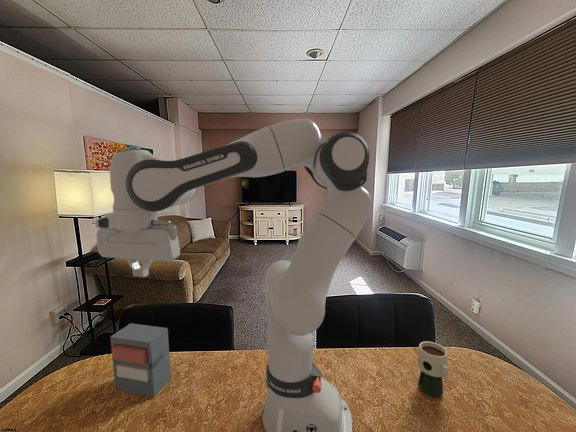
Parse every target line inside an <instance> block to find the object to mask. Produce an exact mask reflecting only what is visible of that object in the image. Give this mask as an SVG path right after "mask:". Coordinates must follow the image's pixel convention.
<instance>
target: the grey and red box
mask: <svg viewBox="0 0 576 432" xmlns="http://www.w3.org/2000/svg"><path fill="white" fill-rule="evenodd" d="M116 344H121V345H127V346H134V347H141V348H147V351H148V361H147V362H145V363H144V364H139V363H133V362H127V361H121V360H115V359H113V358H112V365H113V366H112V367H113V377H114V378H113V379H114V388H115V389H114V390H116V391H121V392H125V393H131V394H135V395H141V396H146V397H152V398H156V396H157V395H158V394H159V393H160V391H161V390H162V389H163V388H164V387H165V386H166V385H167V383H168V382H169V381H170V380H171V378H172V377H171V376H172V375H171V374H172V373H171V363H170V361H171V360H170V344H169V329H168V327H161V326H155V325H154V326H153V325H145V324H139V323H138V324H137V323H129V324H128V325H126V326H125V327H122V328H121V329H119V330H118V331H117V332H115V333H114V334H112V335H110V346H111V350H112V347H113V346H115V345H116ZM117 364H125V365H131V366H137V367H143V368H149V377H150V380H149V381H148V382H145V381H140V380H134V379H129V378H123V377H118V376H117V370H116V365H117Z"/></svg>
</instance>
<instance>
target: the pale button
mask: <svg viewBox="0 0 576 432" xmlns="http://www.w3.org/2000/svg"><path fill="white" fill-rule="evenodd" d="M116 370H117V376H118V377H123V378H129V379H134V380H140V381H145V382H148V381H149V380H150V377H149V368H143V367H137V366H131V365H125V364H117V365H116Z"/></svg>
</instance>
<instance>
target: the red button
mask: <svg viewBox="0 0 576 432" xmlns="http://www.w3.org/2000/svg"><path fill="white" fill-rule="evenodd" d="M111 357H112V358H113V359H115V360H121V361H127V362H133V363H139V364H144V363H145V362H147V361H148V351H147V348H141V347H134V346H127V345H121V344H116V345H115V346H113V347H112V349H111ZM113 359H112V360H113Z"/></svg>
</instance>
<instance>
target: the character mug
mask: <svg viewBox="0 0 576 432" xmlns="http://www.w3.org/2000/svg"><path fill="white" fill-rule="evenodd" d="M417 351H418V352H417V353H418V357H417V365H418V366H417V367H418V368H419V371H420V373H419V378H418V382H417V387H418V389H420V387H421V392H422V393H423V394H424V395H426V396H428V397H430V398H431V397H432V398H439V397H442V396H443V393H444V385H443V379H446V380H447V379H448V375H449V368H448V359H449V358H448V357H449V352H448V350H447V349H446V347H444V346H442V345H441V344H439V343H436V342H433V341H428V340H427V341H421V342H420V343H419V344H418V350H417Z"/></svg>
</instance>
